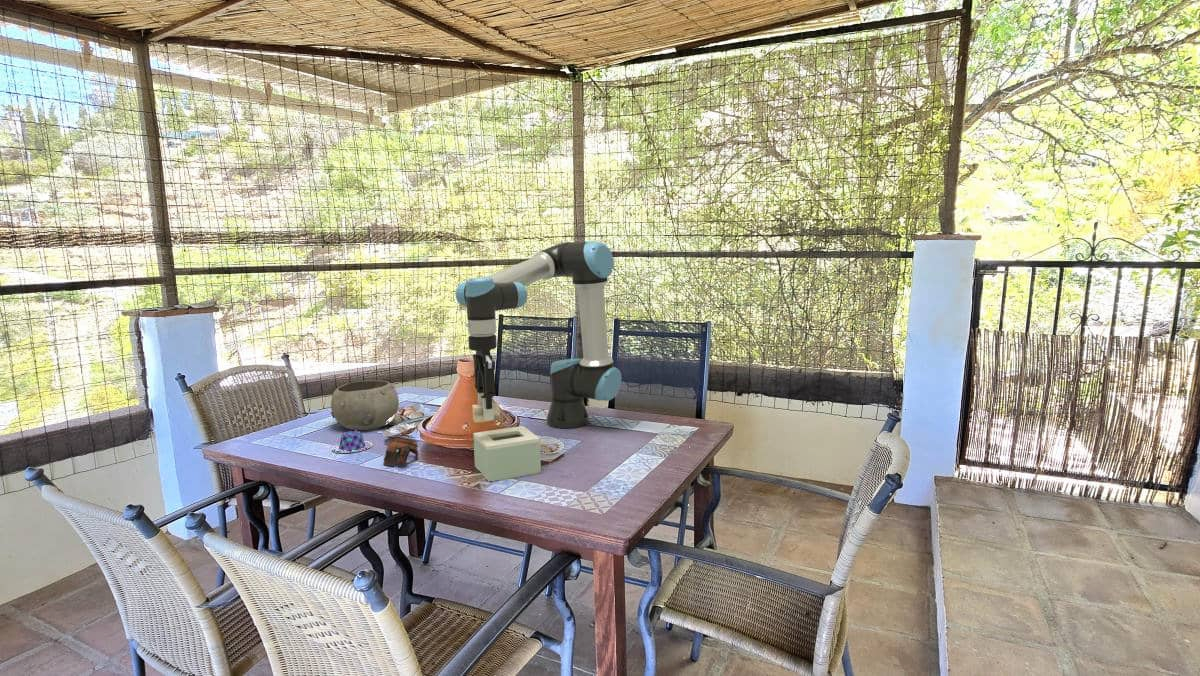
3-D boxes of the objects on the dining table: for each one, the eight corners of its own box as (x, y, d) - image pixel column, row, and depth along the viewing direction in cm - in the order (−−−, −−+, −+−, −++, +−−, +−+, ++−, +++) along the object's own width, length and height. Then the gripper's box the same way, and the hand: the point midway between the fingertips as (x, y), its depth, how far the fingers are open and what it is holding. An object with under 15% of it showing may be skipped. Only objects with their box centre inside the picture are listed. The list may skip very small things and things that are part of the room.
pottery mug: (377, 463, 182) (387, 436, 185) (408, 472, 186) (417, 445, 189) (386, 464, 172) (397, 436, 174) (418, 473, 176) (428, 445, 179)
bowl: (344, 417, 232) (341, 379, 229) (406, 415, 234) (403, 377, 232) (323, 435, 209) (320, 392, 207) (392, 432, 211) (389, 390, 209)
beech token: (498, 416, 172) (497, 402, 172) (500, 420, 169) (499, 405, 168) (472, 418, 170) (472, 404, 170) (474, 422, 166) (474, 408, 166)
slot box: (524, 458, 183) (523, 425, 182) (540, 472, 171) (539, 438, 169) (474, 466, 177) (473, 433, 175) (488, 482, 164) (487, 446, 163)
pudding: (327, 456, 188) (326, 439, 188) (337, 444, 200) (336, 428, 199) (368, 453, 190) (367, 437, 190) (375, 442, 202) (374, 426, 201)
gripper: (461, 331, 172) (465, 412, 175) (476, 339, 156) (481, 427, 160) (487, 329, 175) (490, 408, 179) (505, 337, 160) (508, 423, 163)
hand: (486, 417), depth 169 cm, fingers closed on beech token, 4 cm apart
